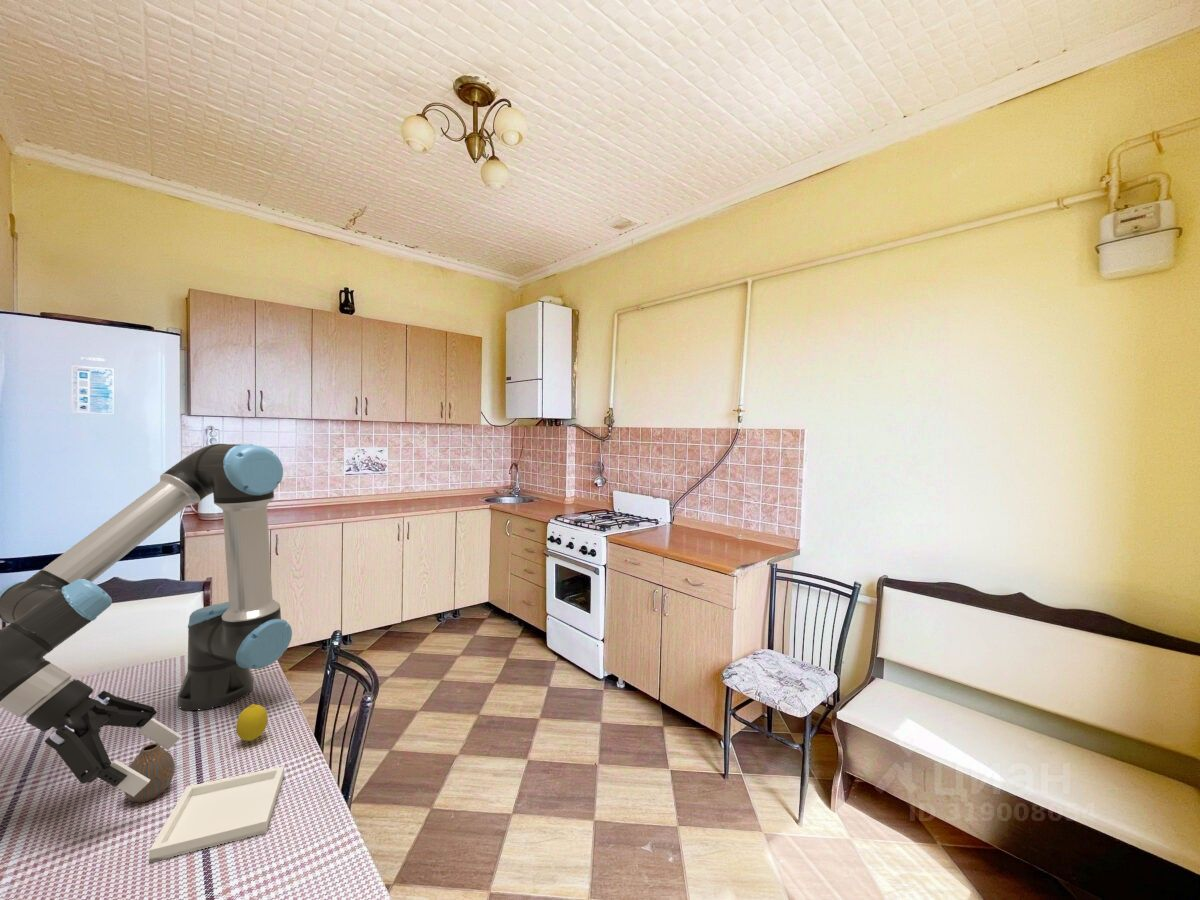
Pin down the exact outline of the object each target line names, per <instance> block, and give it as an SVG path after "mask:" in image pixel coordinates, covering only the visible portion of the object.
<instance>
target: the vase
mask: <svg viewBox="0 0 1200 900" xmlns="http://www.w3.org/2000/svg"><path fill="white" fill-rule="evenodd" d="M174 759H175V758H174V757H173V755H172V754H171V753H170V752H169V751H168V750H167V749H165V748H163V747H162V746H160V745H159V744H158V743H155V742H154V743H153V742H152V743H150V744H147V745H145V746H144V747H142V748H141V749H140V751H139V753H138V754H137V756H136V757H135V758H134V759H133V760H132V762H131V763H130V764H129V766H128V767H130V768H131V769H133V770H135V771H136V772H138V773H140V774H141V775H143V776H145V777H147V778H148V779H150V781H149V783H148V784H147V785H146V786H145V787H144V788H142V789H141V790H140V791H139V792H138V793H137V794H136V795H135V796H134V797H133V796H131V795H130V794H128V793H126V792H124V791H123V793H124V795H125V796H124V797H126V798H127V799H128V800H130V801H131V802H134V803H144V802H149V801H151V800H153V799H156V798H157V797H159V796H160V795H161V794H163V793H164V791H166V789H168V787H169V785H171V782H172V780H173V778H174V775H175V769H176V768H175V767H176V764H175V760H174Z"/></svg>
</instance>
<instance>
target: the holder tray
mask: <svg viewBox="0 0 1200 900" xmlns="http://www.w3.org/2000/svg"><path fill="white" fill-rule="evenodd" d="M284 777H285V765H282V766H278V767H272V768H268V769H263V770H259V771H254V772H249V773H243V774H239V775H236V776H235V775H234V776H230V777H225V778H222V779H216V780H211V781H210V780H209V781H206V782H202V783H199V784H198V783H197V784H193V785H188V786H186V787H185V788H184V790H183V793H182V794H181V795H180V797H179V799H178V800H177V803H176V804H175V806H174V808H173V809H172V811H171V813H170V814H169V816H168V818H167V819H166V821H165V823H164V824H163V826H162V828H161V829H160V831H159V833H158V835H157V836H156V838H155V840H154V842H153V844H151V847H150V848H149V850H148V851H149V852H148V853H149V854H148V856H149V857H148V858H149V859H148V864H152V863H156V862H160V861H162V860H163V859H164V860H167V859H166V858H168V859H171V858H170V857H172V858H174V857H173V856H176V857H178V856H177V855H179V854H183V855H185V854H184V853H187V854H190V853H189V852H191V853H193V852H192V851H195V852H197V851H196V850H199V851H201V849H203V850H206V849H205V848H207V849H209V848H208V847H211V848H214V847H213V846H215V847H218V846H221V845H220V844H222V845H225V844H224V843H226V844H229V843H228V842H230V843H233V842H232V841H234V842H237V840H238V841H241V839H242V840H245V839H244V838H246V839H248V838H247V837H250V838H252V837H251V836H253V837H257V836H260V834H261V835H265V834H267V831H268V828H269V825H270V822H271V818H272V816H273V813H274V809H275V807H276V803H277V799H278V796H279V793H280V790H281V787H282V784H283V780H284ZM256 835H257V836H256ZM217 845H218V846H217ZM179 856H180V855H179Z"/></svg>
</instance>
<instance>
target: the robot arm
mask: <svg viewBox="0 0 1200 900" xmlns="http://www.w3.org/2000/svg"><path fill="white" fill-rule="evenodd" d="M283 477H284V468H283V464H282V462H281V458H280V457H279V456H278V455H277V454H276V453H275V452H273V451H272V450H271V449H270V448H267V447H265V446H263V445H256V444H252V443H238V444H237V443H236V444H235V443H233V444H232V443H231V444H228V443H214V444H213V443H212V444H210V445H207V446H206V445H205V446H204V447H201V448H199V449H197V450H195V451H194V452H192V453H190V454H188V455H187V456H186V457H184V458H183V459H182V460H180V461H179V462H177V463H176V464H174V465H173V466H171V467H170V468H169V469H167V470H165V472H164V473H162V474H161V475H159V482H158V483H156V484H155V485H154V486H152V487H151V488H150V489H148V490H147V491H146V492H144V493H143V494H142V495H140V496H139V497H138V498H136V499H134V501H132V502H131V503H130V504H128V505H126V507H124V508H123V509H122V510H120V511H118V512H117V513H116V514H114V515H113V516H112V517H111V518H109V519H108V520H106V521H105V522H104V523H102V524H101V525H100V526H98V527H97V528H96V529H95V530H93V531H92V532H90V533H89V534H88V535H87V536H85V537H83V538H82V539H80V541H78V542H77V543H76V544H74V545H73V546H71V547H70V548H69V549H68V550H66V551H65V552H63V553H62V554H61V555H59V556H58V557H56V558H55V559H54V560H52V561H51V562H50V563H49V564H48V565H45V566H44V567H43V568H42V569H40V570H39V571H38V572H36V573H35V574H34V575H32V576H30V577H29V578H28V579H26V580H25V581H18V582H14V583H12V584H9V585H6V586H5V587H3V588H1V589H0V620H1V621H2V622H4V623H6V624H8V625H6V626H4V627H3V628H0V707H1V708H3V709H4V711H6V712H9V713H11V714H12V715H14V716H16V717H18V718H23V717H24V716H27V717H26V719H25V720H26V721H25V723H27V724H29V725H31V726H33V728H36V729H37V730H40V731H41V732H47V731H49V730H51V729H52V728H55V729H56V730H55V731H54V732H53V733H52V734H50V735H49V736H48V737H47V738H46V739H45V740H44V742H45V744H46V745H48V746H49V747H51V748H52V749H54V750H55V751H56V752H57V754H58V755H59V756H60V758H61V759H62V760H63V762H64V763H65V764H66V766H67V767H68V768H69V770H70V771H71V772H72V774H73V775H74V776H75V777H76V779H77V780H78V781H79V783H81V784H83V785H85V784H87V783H88V784H91V783H92V782H94V781H95V780H96V779H100V780H102V781H104V782H105V783H108V784H109V785H111V786H113V787H116V788H117V789H119V790H121V791H122V792H123V793H124V792H126V793H128V794H130V795H131V796H133V797H134V796H135V795H136V794H137V793H138V792H139V791H140V790H141V789H142V788H144V787H145V786H146V785H147V784H148V783H149V781H150V779H148V778H147V777H145V776H143V775H141V774H140V773H138V772H136V771H135V770H133V769H131V768H130V767H129V766H127V764H124V763H123V762H122V761H119V760H117V759H115V760H114V761H112V762H111V760H110V757H109V755H108V753H107V750H106V748H105V746H104V743H103V742H102V739H101V737H100V734H99V733H100V731H101V728H103V727H106V726H111V727H123V728H124V727H125V728H136V729H139V730H138V731H137V732H138V733H140V734H141V735H143V736H144V737H145V738H147V739H149V740H151V741H152V742H154V743H158V744H159V745H160V746H161V748H163V749H164V750H166V751H168V750H169V749H171V748H172V747H173V746H174V745H175V744H176V743H177V742H178V741H180V739H181V738H182V735H181V734H179V733H178V732H176V731H175V730H173V729H171V728H169V727H168V726H166V725H165V724H164V723H162V722H161V721H158V719H156V718H154V716H156V715H157V713H158V712H157V710H156V709H155V708H154V707H153V706H151V705H148V704H145V703H144V704H143V703H140V702H137V701H135V700H130V699H126V698H123V697H119V696H116V695H114V694H113V693H110V692H108V691H107V690H102V691H101V692H99V693H98V694H97V695H96V696H95V697H94V698H92V697H90V696H91V695H92V694H93V692H94V689H93V687H91V686H89V685H88V684H86V683H85V682H83V681H81V680H79V679H73V680H71V679H72V678H73V677H72V674H71V673H68V672H67V671H66V670H64V669H62V668H60V667H58V666H57V665H55V664H54V663H52V662H50V661H49V660H47V659H45V658H44V657H45V656H46V655H48V654H49V653H51V652H52V651H54V649H56V648H57V647H59V646H60V645H61V644H62V643H63V642H65V641H66V640H68V639H70V637H72V636H73V635H75V634H76V633H78V631H80V630H81V629H83V628H84V627H86V626H87V625H88V624H90V623H91V622H93V621H95V620H96V619H97V617H99V616H100V615H101V614H103V613H104V612H105V611H106V610H107V609H108V608H109V607H110V606H111V605H112V603H113V599H112V597H111V596H110V595H109V594H108V593H107V592H106V591H105V590H104V589H103V588H102V587H100V586H99V585H98V584H95V583H94V581H95V580H96V579H98V578H99V577H100V576H101V575H103V574H104V573H105V572H107V570H109V569H110V568H112V567H113V566H114V565H115V564H116V563H118V562H119V561H120V560H121V559H123V558H124V557H125V556H126V555H128V554H129V553H130V552H131V551H132V550H134V549H135V548H136V547H137V546H139V545H140V544H141V543H143V542H144V541H145V540H146V539H147V538H149V537H150V536H151V535H152V534H153V533H155V532H156V531H157V530H159V529H160V528H161V527H163V526H164V525H165V524H166V523H167V522H169V521H170V520H171V519H172V518H173V517H175V516H176V515H177V514H179V513H180V512H181V511H182V510H183V509H185V508H186V507H187V506H189V505H190V504H198V503H199V502H201V501H202V500H203V499H205V498H206V497H207V496H209V495H211V494H213V504H214V505H215V506H217V507H219V508H220V509H221V510H222V517H223V533H224V548H225V549H224V551H225V564H226V566H225V567H226V578H227V580H226V581H227V593H228V601H226V602H222V603H216V604H211V605H208V606H204V607H200V608H198V609H196V610H194V611H192V612H191V614H190V615H189V619H188V624H187V630H188V631H187V632H188V633H187V634H188V635H187V638H188V639H187V670H186V674H185V676H184V679H183V682H182V683H181V687H180V688H179V692H178V693H177V704H178V705H177V707H178V706H179V707H181V708H183V709H187V710H186V711H189V710H197V711H199V710H198V709H206V710H208V709H207V708H212V707H216V708H218V707H217V706H220V707H222V706H221V705H223V706H225V705H224V704H226V705H228V704H227V703H229V704H231V703H230V702H232V703H234V702H236V701H235V700H237V699H239V698H241V697H243V696H244V695H246V694H247V693H248V692H250V691H251V692H252V690H253V689H254V676H253V675H252V672H251V670H258V669H259V670H260V669H263V668H267V667H268V666H271V665H272V664H274V663H275V662H276V661H278V660H279V659H280V658H281V657H282V656H283V654H284V652H285V651H287V650H288V647H290V644H291V642H292V636H293V630H292V627H291V625H290V623H289V622H287V621H286V620H285V619H282V614H281V604H280V602H278V601H276V600H275V599H274V598H273V585H272V570H271V568H272V567H271V566H272V565H271V555H270V554H271V553H270V552H271V550H270V549H271V548H270V537H269V536H270V534H269V532H270V531H269V521H268V520H269V517H268V515H269V514H268V505H269V504H270V503H271V502H272V501H273V500H274V499H275V489H277V487H278V486H279V484H280V483H281V482H282V479H283ZM252 688H253V689H252ZM251 692H250V693H251ZM248 694H249V693H248ZM248 694H247V695H248ZM247 695H246V696H247ZM244 697H245V696H244ZM244 697H243V698H244ZM241 699H242V698H241ZM239 700H240V699H239ZM233 701H234V702H233ZM237 701H238V700H237ZM179 707H178V708H179ZM183 709H182V710H183ZM212 709H213V708H212Z"/></svg>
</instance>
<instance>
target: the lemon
mask: <svg viewBox="0 0 1200 900" xmlns="http://www.w3.org/2000/svg"><path fill="white" fill-rule="evenodd" d="M268 720H269V717H268V713H267V710H266V708H265V707H264V706H262V705H261V704H255V703H253V704H250V705H249V706H247V707H245V708H244V709H243V710H242V711H241V713H240V714H239V715H238V718H237V720H236V727H235V729H236V730H235V731H236V735H237V736H238V738H239V739H241V740H242V741H248V742H250V743H252V742H254V741H255V740H256V739H257V738H258V737H260V736H261V735H262V734H263V733H264V732H265V731H266V728H267V726H268Z"/></svg>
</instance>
